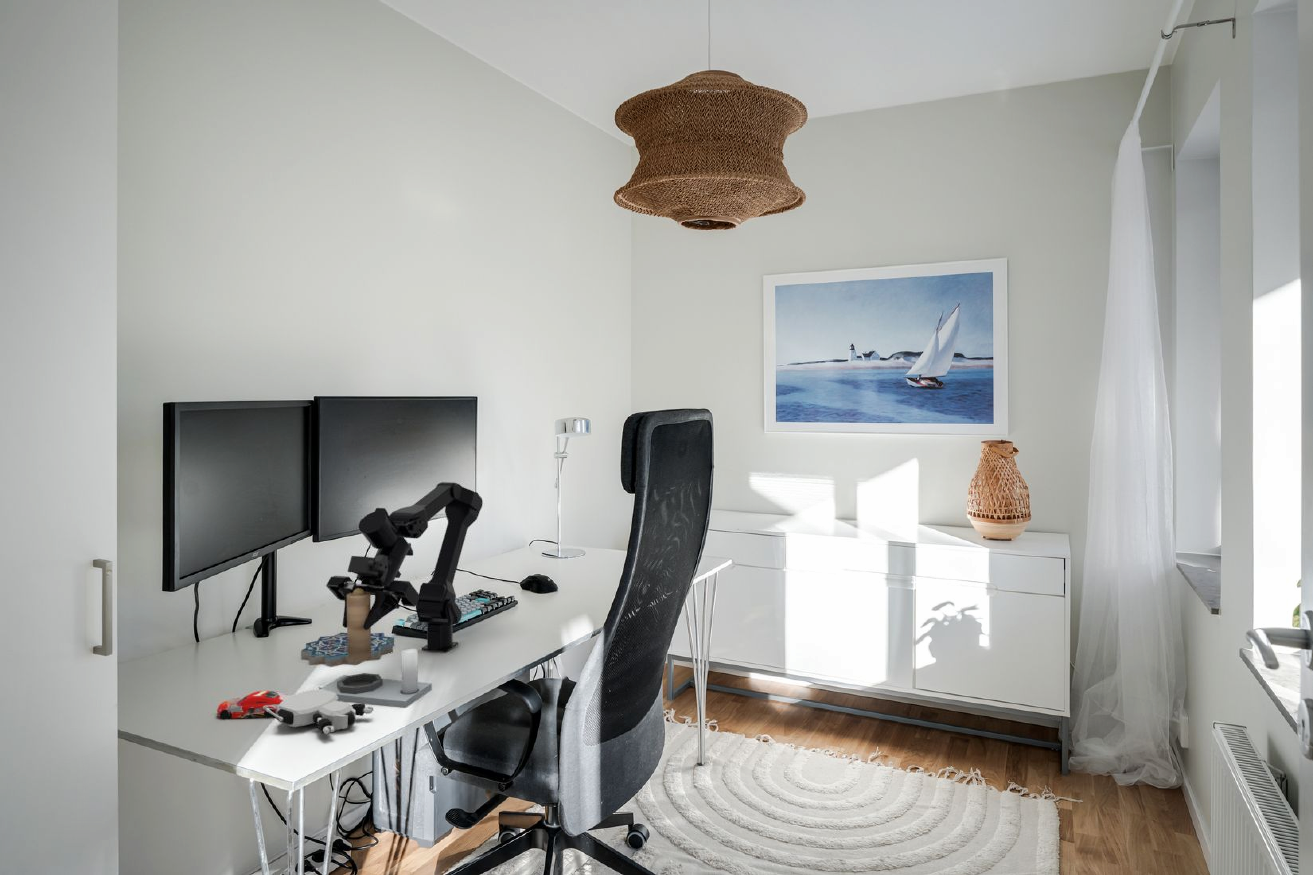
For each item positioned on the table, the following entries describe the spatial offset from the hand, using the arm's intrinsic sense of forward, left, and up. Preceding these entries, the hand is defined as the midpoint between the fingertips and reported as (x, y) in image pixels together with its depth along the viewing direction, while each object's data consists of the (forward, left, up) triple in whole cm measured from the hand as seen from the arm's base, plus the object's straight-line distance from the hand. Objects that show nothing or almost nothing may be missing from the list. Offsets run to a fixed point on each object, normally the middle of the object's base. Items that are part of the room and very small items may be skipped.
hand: (354, 627), depth 154 cm
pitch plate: (-1, +3, -13) cm, 14 cm away
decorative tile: (-23, -17, -14) cm, 32 cm away
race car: (+13, -12, -14) cm, 22 cm away
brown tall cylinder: (-1, 0, -7) cm, 7 cm away
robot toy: (+14, +3, -14) cm, 20 cm away
